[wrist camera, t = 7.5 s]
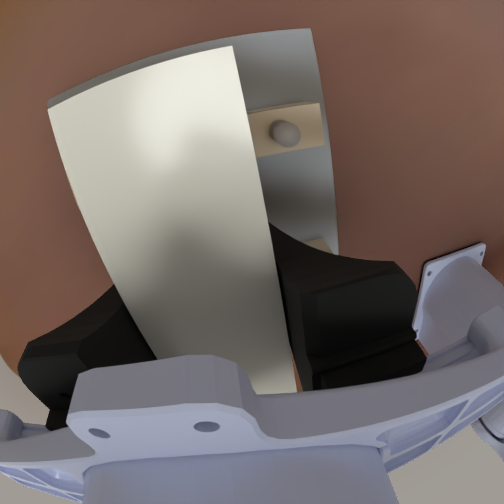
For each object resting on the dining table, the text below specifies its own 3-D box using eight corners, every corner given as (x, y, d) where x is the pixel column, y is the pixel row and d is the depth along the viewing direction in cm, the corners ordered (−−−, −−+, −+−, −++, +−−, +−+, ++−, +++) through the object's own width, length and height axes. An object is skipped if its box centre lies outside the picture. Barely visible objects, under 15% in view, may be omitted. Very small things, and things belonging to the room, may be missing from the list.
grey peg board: (334, 298, 22) (358, 340, 18) (154, 340, 21) (148, 387, 17) (304, 31, 12) (337, 13, 8) (55, 99, 12) (10, 106, 8)
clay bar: (276, 335, 17) (301, 424, 12) (210, 350, 17) (216, 440, 12) (220, 71, 10) (232, 45, 5) (121, 100, 10) (47, 109, 5)
